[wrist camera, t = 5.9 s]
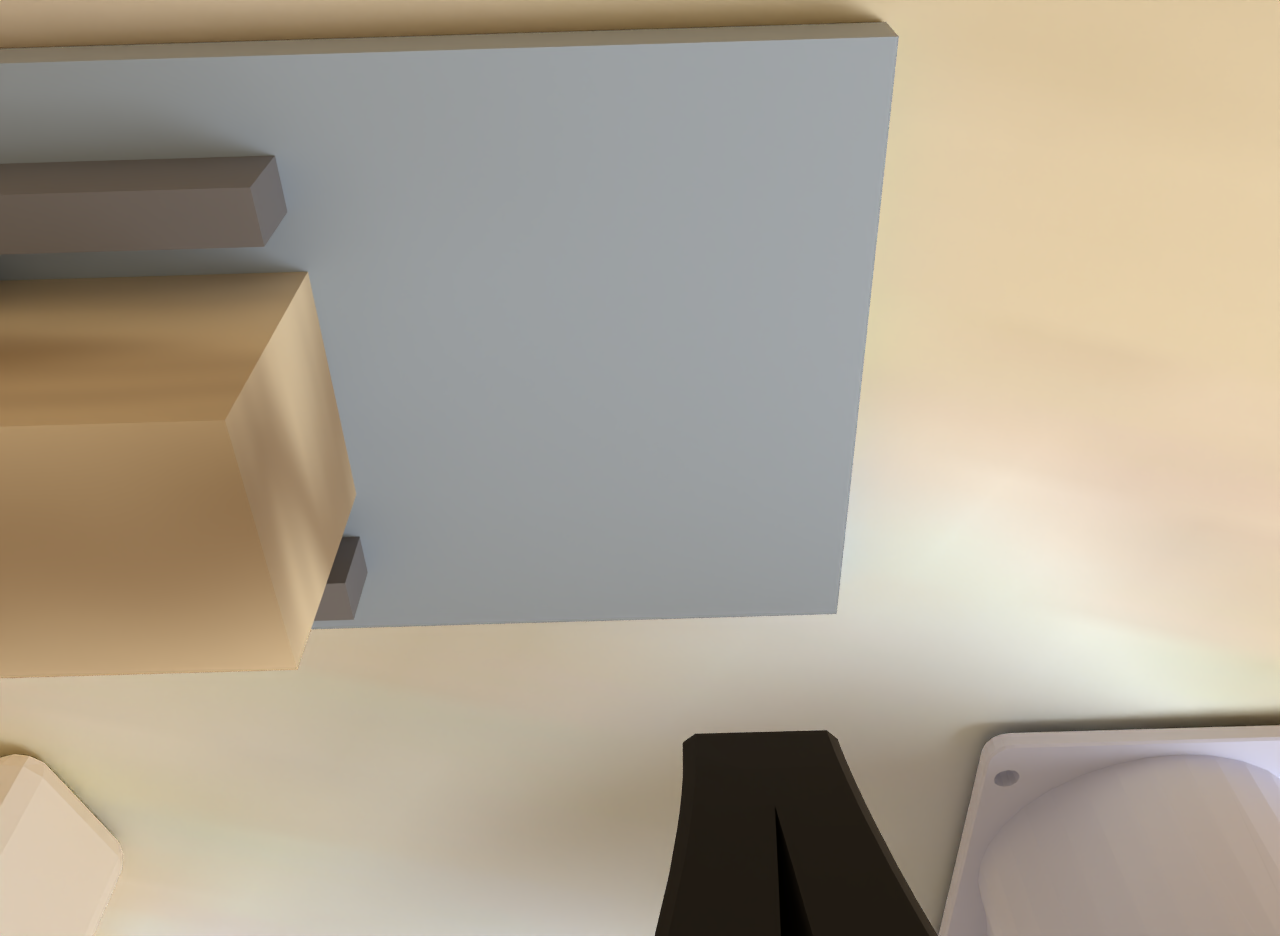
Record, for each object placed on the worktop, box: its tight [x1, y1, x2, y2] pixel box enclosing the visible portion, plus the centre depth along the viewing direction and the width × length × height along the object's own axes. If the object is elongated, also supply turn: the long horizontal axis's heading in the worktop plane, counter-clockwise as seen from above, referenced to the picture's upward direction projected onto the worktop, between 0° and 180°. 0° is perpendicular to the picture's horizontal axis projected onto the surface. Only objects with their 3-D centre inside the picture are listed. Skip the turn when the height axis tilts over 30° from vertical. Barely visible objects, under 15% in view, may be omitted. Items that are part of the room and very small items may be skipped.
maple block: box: [0, 272, 356, 678], centre depth 15 cm, size 4×4×4 cm
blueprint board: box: [0, 22, 898, 629], centre depth 17 cm, size 10×15×2 cm, turn 91°
